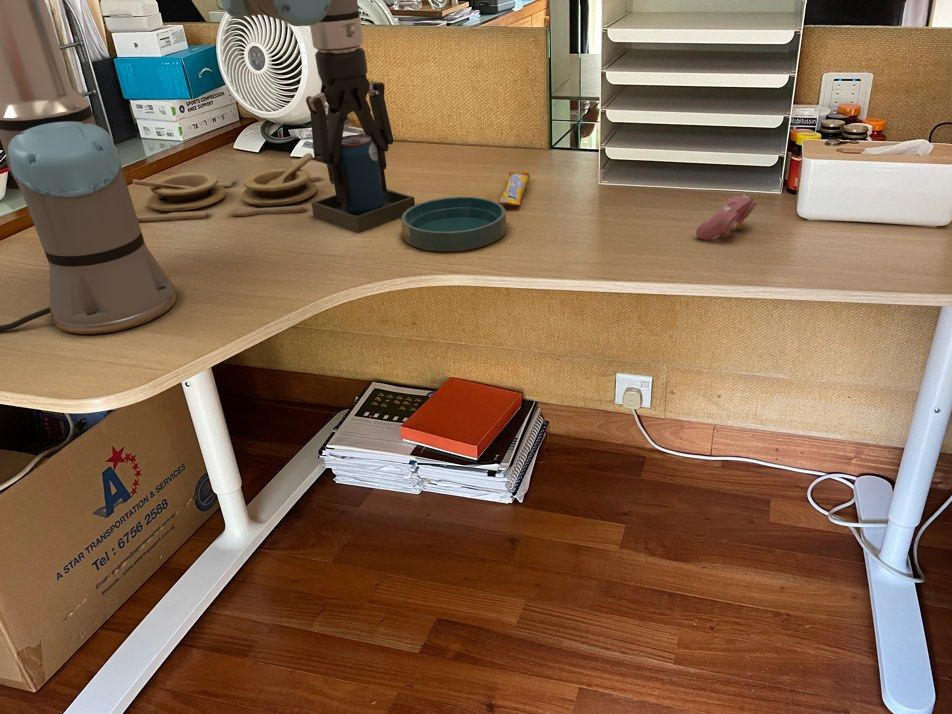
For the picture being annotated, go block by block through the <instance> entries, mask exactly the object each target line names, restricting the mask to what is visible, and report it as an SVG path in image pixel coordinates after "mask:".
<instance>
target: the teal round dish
mask: <svg viewBox="0 0 952 714" xmlns="http://www.w3.org/2000/svg"><path fill="white" fill-rule="evenodd" d="M497 202H498V201H495V200H491V199H488V198H483V197H476V196H451V197H441V198H435V199H429V200H427V201H423V202H420V203H419V202H418V203H417V204H415V206H413V207H411V208H409V209H408V210H406V211H405V212H404V213H403V215H402V217H400V221H401V229H402V230H401V231H402V235H403V238H404V241H405V242H406V243H407V244H409V245H411V246H413V247H414V248H418V249H421V250H427V251H433V252H458V251H468V250H473V249H477V248H478V249H479V248H481V247H484V246H488V245H491V244H493V243H495V242H497V241H498V240H500V239H502V238H503V236H505V234H506V233H507V227H508V226H507V210H506V209H505V207H504V205H501V204H499V203H497Z"/></svg>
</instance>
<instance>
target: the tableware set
mask: <svg viewBox="0 0 952 714" xmlns="http://www.w3.org/2000/svg"><path fill="white" fill-rule="evenodd" d="M313 159H314V155H313V154H312V153H311V152H308V153H305V154H304V155H302V156H301V158H299V159H298V160H297V161H296V162H295V163H294V164H293V165H292V166H290V167H287V168H286V167H283V168H282V167H281V168H274V169H273V168H272V169H266V170H262V171H259V172H255V173H253V174H250V175H248V176H246V178H244V179H243V182H242V183H243V187H244V188H245V189H244V190H243V191H242V192H241V199H242V200H243V201H244V202H245V203H247V204H250V205H254V206H263V207H261V208H260V207H252V206H248V207H247V206H245V207H244V206H243V207H235V208H234V210H233V211H232V212H231V214H230V215H231V216H233V217H234V216H237V217H238V216H239V217H243V216H245V217H247V216H253V215H260V214H261V215H264V214H265V215H266V214H294V213H303V212H305V206H303V205H291V204H295V203H298V202H301V201H304V200H307V199H309V198H310V197H312V196H314V195H315V194H316V193H317V190H318V187H317V186H318V185H316V183H314V182H318V181H320V176H319V175H311V174H310V172H308V170H305V169H301V168H303V167H304V166H305V165H307V164H308V163H309V162H310V161H312V160H313ZM132 184H133V185H136V186H142V187H148V188H149V190H150V191H151V192H152V193H151V194H150V195H149V196H148V197H147V199H146V203H147V205H148V207H149V208H151V209H153V210H156V211H161V212H169V213H166V214H140V215H136V216H137V219H138V222H139V223H141V222H157V221H159V222H160V221H161V222H162V221H175V220H176V221H178V220H194V219H195V220H196V219H207V218H208V212H207V211H206V210H202V211H201V210H200V211H196V209H200V208H203V207H206V206H209V205H212V204H215V203H218V202H219V201H221V200H222V199H224V198H225V196H226V195H227V190H226V188H231V187H232V186H233V184H235V181H234V180H225V179H219V178H218V177H217V176H216V175H215V174H212V173H209V172H199V171H198V172H197V171H196V172H182V173H176V174H170V175H168V176H163V177H160V178H158V179H155V180H154V181H148V180H142V179H132ZM284 205H285V206H284ZM286 205H289V206H286ZM264 206H265V207H264ZM269 206H270V207H269ZM273 206H274V207H273ZM190 210H195V211H190Z"/></svg>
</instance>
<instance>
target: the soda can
mask: <svg viewBox="0 0 952 714" xmlns="http://www.w3.org/2000/svg"><path fill="white" fill-rule="evenodd" d="M340 163H344V164H345V171H346V177H347V183H348V189H349V195H350V201H351V203H350V204H344V203H342V206H343V208H344V209H345V210H346V212H347V213H349V214H352V215H355V216H359V215H362V214H364V213H367V212H370V211H373V210H376V209H378V208H381V207H383V205H384V196H383V189H382V182H381V175H380V168H379V161H378V154H377V148H376V146H375V145H374V143H373V142H372V138H371V137H370V136H368V135H365V134H349V135H343V138H342V146H341V154H340Z"/></svg>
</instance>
